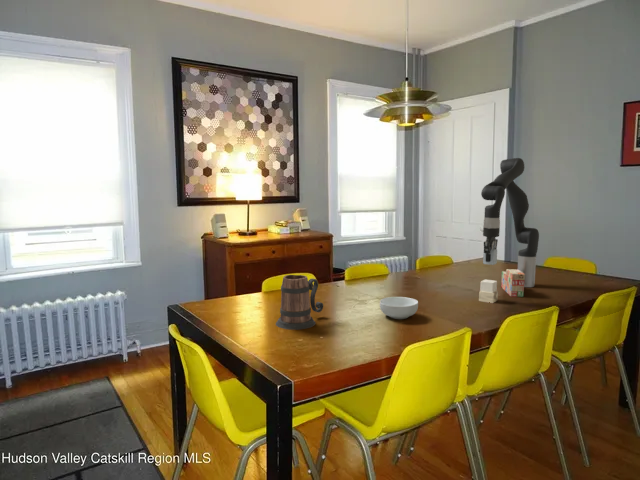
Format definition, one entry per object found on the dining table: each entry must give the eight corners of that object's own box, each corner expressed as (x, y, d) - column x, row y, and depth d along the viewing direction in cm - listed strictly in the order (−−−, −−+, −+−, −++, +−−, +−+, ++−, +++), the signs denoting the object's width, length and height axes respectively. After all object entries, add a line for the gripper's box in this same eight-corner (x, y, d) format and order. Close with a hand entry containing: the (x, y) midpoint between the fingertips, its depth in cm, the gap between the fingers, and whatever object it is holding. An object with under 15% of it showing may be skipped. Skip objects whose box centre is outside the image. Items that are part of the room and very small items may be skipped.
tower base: (483, 298, 232) (484, 288, 231) (497, 300, 228) (498, 290, 227) (478, 301, 226) (479, 291, 226) (492, 303, 222) (493, 293, 221)
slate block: (486, 262, 228) (487, 248, 227) (496, 263, 225) (497, 249, 224) (483, 263, 224) (483, 249, 224) (493, 264, 221) (494, 250, 220)
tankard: (292, 332, 179) (292, 283, 177) (267, 322, 192) (266, 276, 189) (335, 320, 195) (335, 274, 193) (309, 312, 208) (309, 269, 205)
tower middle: (484, 289, 231) (485, 279, 230) (496, 290, 227) (497, 281, 226) (480, 291, 226) (480, 281, 226) (492, 293, 222) (492, 283, 222)
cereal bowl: (391, 309, 212) (392, 294, 211) (424, 315, 202) (424, 300, 201) (372, 317, 199) (372, 301, 198) (405, 325, 189) (406, 308, 188)
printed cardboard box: (500, 287, 256) (501, 265, 254) (512, 287, 255) (513, 266, 253) (511, 296, 235) (512, 273, 233) (523, 297, 234) (525, 273, 232)
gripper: (488, 225, 230) (487, 258, 233) (478, 227, 219) (477, 262, 221) (503, 226, 226) (502, 259, 228) (494, 228, 215) (492, 263, 217)
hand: (489, 260), depth 225 cm, fingers closed on slate block, 5 cm apart
